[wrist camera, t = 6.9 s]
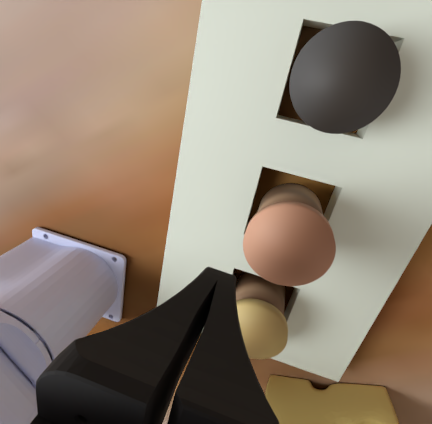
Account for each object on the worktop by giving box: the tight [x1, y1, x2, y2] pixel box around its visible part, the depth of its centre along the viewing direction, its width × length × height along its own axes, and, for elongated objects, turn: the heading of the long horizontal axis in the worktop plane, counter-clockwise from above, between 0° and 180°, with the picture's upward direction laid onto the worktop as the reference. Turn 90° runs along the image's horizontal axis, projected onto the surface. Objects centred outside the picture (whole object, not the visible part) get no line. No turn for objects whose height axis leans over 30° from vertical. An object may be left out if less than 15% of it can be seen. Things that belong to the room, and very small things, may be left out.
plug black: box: [289, 21, 401, 134], centre depth 15 cm, size 5×5×5 cm
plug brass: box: [236, 272, 288, 359], centre depth 22 cm, size 5×5×5 cm
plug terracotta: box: [243, 183, 336, 286], centre depth 17 cm, size 5×5×5 cm
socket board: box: [157, 0, 432, 382], centre depth 20 cm, size 16×26×2 cm, turn 168°
